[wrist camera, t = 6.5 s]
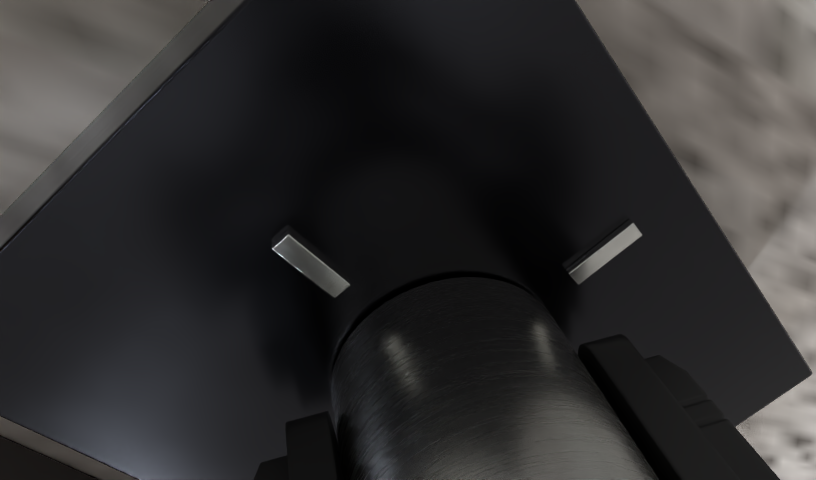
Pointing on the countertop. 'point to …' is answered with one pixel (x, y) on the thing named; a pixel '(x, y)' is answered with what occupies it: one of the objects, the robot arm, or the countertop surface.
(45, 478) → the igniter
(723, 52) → the countertop surface
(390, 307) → the hob knob
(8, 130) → the countertop surface
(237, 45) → the hob panel
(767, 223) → the countertop surface
